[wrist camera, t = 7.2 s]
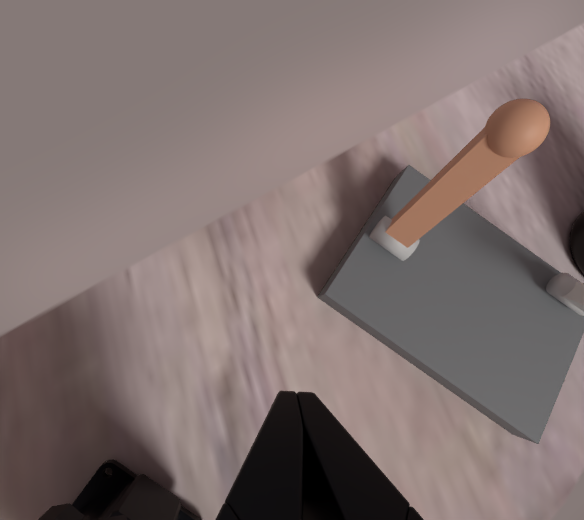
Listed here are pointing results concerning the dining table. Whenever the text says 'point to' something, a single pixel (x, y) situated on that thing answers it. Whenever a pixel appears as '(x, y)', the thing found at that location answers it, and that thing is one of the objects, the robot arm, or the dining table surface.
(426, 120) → the dining table surface
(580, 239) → the supplement bottle
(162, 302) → the dining table surface
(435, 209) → the terracotta lever
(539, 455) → the dining table surface
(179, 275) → the dining table surface
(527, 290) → the switch panel
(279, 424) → the robot arm
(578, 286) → the pale grey lever
